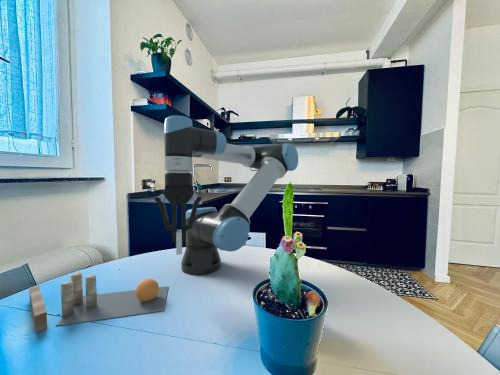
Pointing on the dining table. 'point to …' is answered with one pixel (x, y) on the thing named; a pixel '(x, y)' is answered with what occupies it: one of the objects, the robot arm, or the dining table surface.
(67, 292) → the pin
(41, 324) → the back wall
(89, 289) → the front pin
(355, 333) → the dining table surface
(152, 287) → the ball
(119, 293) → the mat
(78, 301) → the pin
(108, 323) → the dining table surface
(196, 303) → the dining table surface
